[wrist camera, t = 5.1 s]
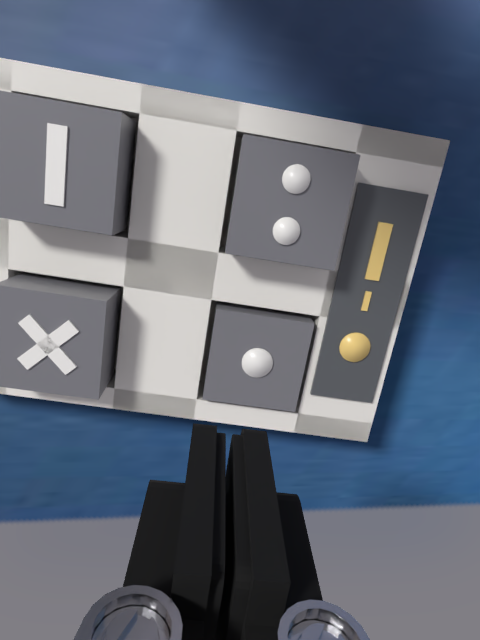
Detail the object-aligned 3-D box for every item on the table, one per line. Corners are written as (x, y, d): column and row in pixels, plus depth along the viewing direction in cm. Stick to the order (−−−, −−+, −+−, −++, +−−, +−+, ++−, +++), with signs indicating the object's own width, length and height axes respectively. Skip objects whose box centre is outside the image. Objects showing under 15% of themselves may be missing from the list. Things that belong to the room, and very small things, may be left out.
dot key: (217, 294, 25) (216, 309, 22) (304, 308, 25) (315, 324, 22) (205, 376, 26) (202, 400, 23) (288, 387, 27) (295, 412, 24)
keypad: (-42, 63, 22) (-95, 39, 19) (419, 146, 24) (453, 139, 20) (-38, 358, 27) (-80, 386, 23) (350, 412, 28) (368, 445, 25)
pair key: (241, 140, 21) (243, 133, 18) (342, 158, 22) (361, 154, 19) (225, 244, 23) (225, 253, 20) (321, 260, 23) (335, 271, 20)
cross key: (23, 272, 23) (-8, 284, 20) (121, 287, 23) (105, 301, 20) (20, 362, 24) (-8, 386, 21) (113, 374, 25) (98, 400, 22)
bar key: (27, 102, 21) (-6, 88, 18) (136, 122, 21) (121, 111, 18) (25, 212, 22) (-7, 216, 19) (126, 229, 22) (111, 235, 19)
